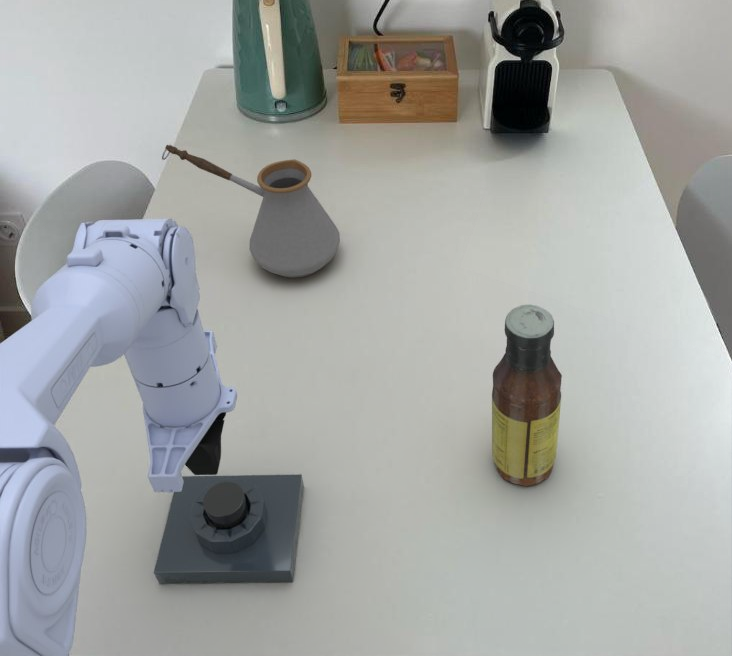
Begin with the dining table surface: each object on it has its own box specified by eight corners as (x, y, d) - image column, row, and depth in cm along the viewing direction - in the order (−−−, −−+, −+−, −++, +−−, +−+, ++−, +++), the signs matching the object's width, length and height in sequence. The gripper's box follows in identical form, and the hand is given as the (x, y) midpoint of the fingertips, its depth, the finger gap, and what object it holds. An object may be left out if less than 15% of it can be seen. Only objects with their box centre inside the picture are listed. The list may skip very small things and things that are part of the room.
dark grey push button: (250, 493, 74) (246, 481, 73) (244, 528, 72) (240, 516, 70) (211, 494, 74) (207, 481, 73) (204, 529, 72) (199, 516, 70)
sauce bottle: (553, 439, 82) (574, 295, 69) (555, 491, 78) (578, 348, 64) (488, 435, 83) (496, 292, 69) (487, 487, 78) (495, 345, 65)
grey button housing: (304, 486, 79) (299, 461, 76) (293, 582, 72) (287, 559, 69) (182, 488, 79) (172, 463, 77) (158, 584, 72) (147, 560, 69)
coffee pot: (353, 237, 107) (344, 139, 97) (324, 294, 99) (310, 194, 89) (207, 215, 112) (183, 120, 102) (168, 268, 104) (137, 170, 94)
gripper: (205, 437, 54) (240, 545, 63) (239, 290, 64) (265, 400, 74) (100, 438, 54) (150, 546, 63) (151, 291, 65) (188, 402, 74)
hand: (206, 468), depth 68 cm, fingers closed
